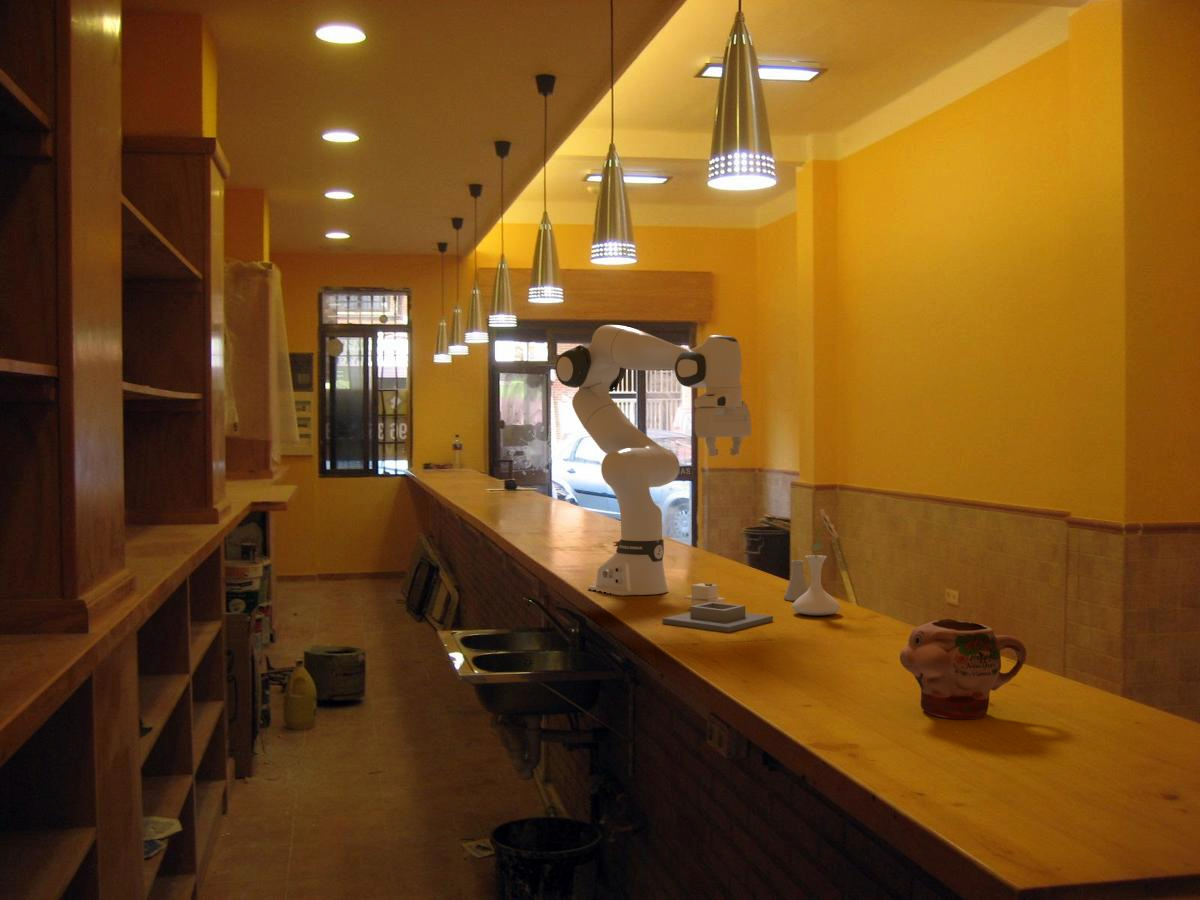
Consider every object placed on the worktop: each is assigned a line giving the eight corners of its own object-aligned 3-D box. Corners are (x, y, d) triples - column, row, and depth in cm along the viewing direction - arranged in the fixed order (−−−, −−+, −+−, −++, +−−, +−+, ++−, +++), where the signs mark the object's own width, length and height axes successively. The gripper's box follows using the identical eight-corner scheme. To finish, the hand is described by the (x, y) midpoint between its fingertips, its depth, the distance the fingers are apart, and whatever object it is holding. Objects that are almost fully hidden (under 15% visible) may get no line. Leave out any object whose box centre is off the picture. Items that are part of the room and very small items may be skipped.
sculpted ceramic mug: (1003, 699, 187) (1003, 615, 186) (1043, 719, 175) (1043, 628, 174) (887, 705, 184) (887, 619, 183) (920, 725, 171) (920, 633, 171)
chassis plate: (662, 623, 260) (662, 607, 259) (708, 613, 273) (708, 597, 273) (728, 632, 248) (728, 615, 248) (772, 621, 261) (772, 605, 261)
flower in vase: (827, 620, 262) (827, 511, 262) (783, 615, 269) (782, 509, 268) (851, 612, 273) (851, 508, 272) (808, 608, 279) (808, 506, 279)
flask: (814, 602, 289) (814, 562, 289) (785, 602, 289) (785, 562, 289) (809, 597, 296) (809, 559, 296) (781, 597, 296) (781, 559, 296)
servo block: (684, 608, 280) (684, 582, 280) (693, 606, 283) (693, 580, 283) (715, 612, 274) (715, 586, 274) (725, 610, 277) (725, 584, 277)
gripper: (736, 400, 293) (736, 454, 294) (689, 399, 278) (690, 456, 278) (757, 400, 289) (757, 454, 290) (711, 399, 274) (711, 457, 274)
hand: (724, 455), depth 284 cm, fingers open, 8 cm apart
